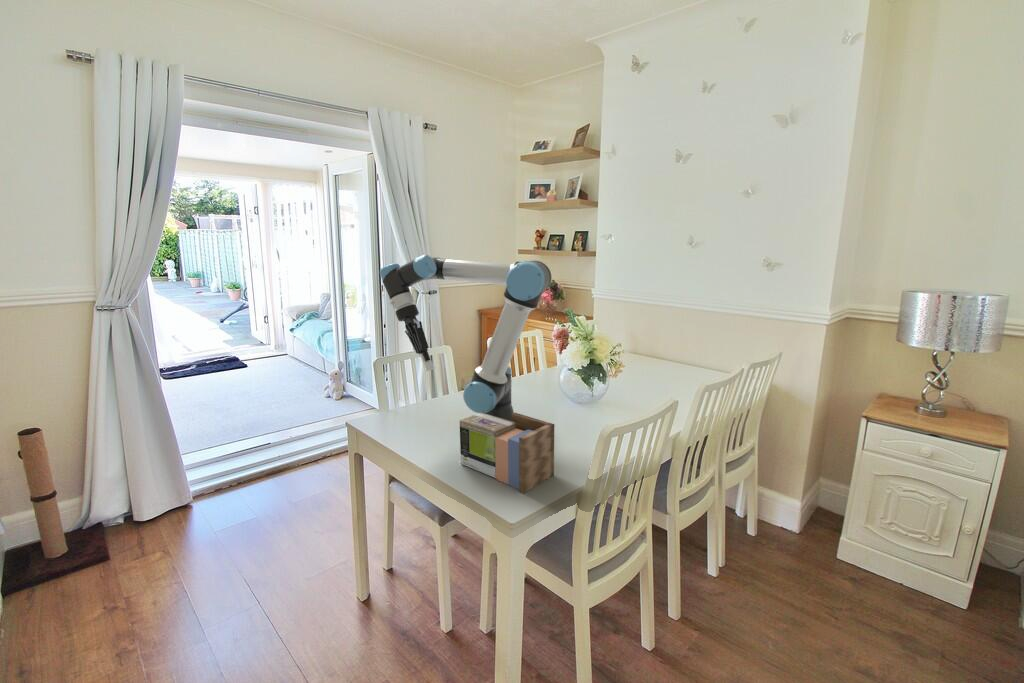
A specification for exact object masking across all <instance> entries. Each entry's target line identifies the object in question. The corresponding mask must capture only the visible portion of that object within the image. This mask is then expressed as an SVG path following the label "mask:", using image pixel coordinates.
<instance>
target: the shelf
mask: <svg viewBox="0 0 1024 683" xmlns="http://www.w3.org/2000/svg"><path fill="white" fill-rule="evenodd" d="M512 422H515V423H516V429H520V430H523V431H525V430H528V429H529V430H532V432H530V433H528V434H526V435H524V436H521V437H519V489H518V491H520V492H519V493H521V492H522V493H521V494H523V493H524V494H525V492H526V493H527V492H529V491H531V490H532V489H534V488H535V487H537V486H539V485H541V482H542V483H543V482H545V481H546V479H547V480H549V479H550V478H552V477H553V476H554V475H555V423H552V422H548V421H545V420H542V419H538V418H534V417H531V416H528V415H525V414H521V413H518V412H514V413H513V414H512ZM551 476H552V477H551ZM538 484H539V485H538ZM536 485H537V486H536ZM533 487H534V488H533ZM530 489H531V490H530Z"/></svg>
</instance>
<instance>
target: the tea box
mask: <svg viewBox="0 0 1024 683" xmlns="http://www.w3.org/2000/svg"><path fill="white" fill-rule="evenodd" d="M515 428H516V423H515V422H512V421H508V420H505V419H501V418H498V417H495V416H491V415H488V414H484V413H475V414H474V415H471V416H468V417H465V418H463V419H460V420H459V446H460V448H459V449H460V451H459V452H460V465H463V466H465V467H468V468H471V469H472V470H475V471H477V472H479V473H483V474H484V475H487V476H489V477H492V478H495V479H496V455H495V437H497V436H499V435H502V434H504V433H506V432H508V431H510V430H512V429H515Z"/></svg>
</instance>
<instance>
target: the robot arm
mask: <svg viewBox="0 0 1024 683" xmlns="http://www.w3.org/2000/svg"><path fill="white" fill-rule="evenodd" d="M379 276H380V278H381V282H382V284H383V285H384V288H385V291H386V292H387V296H388V297H389V301H390V302H389V304H390V305H392V307H393V310H394V311H395V315H396V318H397V320H398V322H404V325H405V326H404V327H405V328H404V329H405V331H404V333H405V334H406V336H407V337H408V339H409V341H410V343H411V345H412V347H413V350H414V351H415V353H416V354H418V356H419V357H420V360H421V362H422V365H423V366H424V368H425V372H429V371H432V370H435V366H434V363H433V361H432V359H431V356H430V354H429V351H428V349H429V344H428V340H427V338H426V335H425V332H424V328H423V323H422V321H421V320H420V321H419V320H418V319H417V316H419V313H420V312H419V309H418V307H417V305H416V304H415V302H416V301H415V299H414V297H413V294H412V292H411V290H410V288H409V287H412V286H414V285H416V284H418V283H420V282H423V281H429V280H442V281H443V280H445V281H458V282H468V283H479V284H490V285H498V286H499V285H502V286H506V287H505V289H504V292H503V298H504V301H505V304H504V306H503V308H502V311H501V312H500V316H499V318H498V322H497V323H496V326H495V329H494V332H493V333H492V336H491V340H490V342H489V345H488V347H487V350H486V353H485V355H484V358H483V361H482V364H480V365H479V366H476V367H475V369H474V372H473V375H472V377H471V379H470V382H469V383H468V384H467V385H465V387H464V390H463V392H462V399H463V401H464V403H465V406H466V407H467V408H468V409H469V410H470V411H472V412H474V413H475V414H478V413H484V414H488V415H491V416H495V417H498V418H501V419H505V420H508V421H512V414H513V413H515V412H514V408H513V405H512V375H513V374H512V369H511V366H509V365H510V362H511V360H512V358H513V355H514V352H515V349H516V348H517V346H518V343H519V340H520V337H521V335H522V332H523V329H524V328H525V325H526V322H527V320H528V317H529V315H530V313H531V312H532V311H534V310H536V309H537V308H538V305H539V303H540V300H541V298H542V297H543V296H542V295H543V293H545V292H546V291H548V289H549V287H550V285H551V283H552V277H553V276H552V273H551V270H550V268H549V266H548V265H547V264H546V263H544V262H543V261H540V260H525V261H524V260H523V261H517V260H516V261H514V262H513V263H503V262H491V261H490V262H489V261H479V260H478V261H477V260H464V259H450V258H441V257H431V256H430V255H428V254H423V255H421V256H417V257H416V258H414V259H412V260H410V261H408V262H407V263H405V264H403V265H401V266H400V264H399V263H397V262H395V263H391V264H387V265H385V266H383V267H382V268H381V269H380V270H379Z"/></svg>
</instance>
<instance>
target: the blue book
mask: <svg viewBox="0 0 1024 683" xmlns="http://www.w3.org/2000/svg"><path fill="white" fill-rule="evenodd" d="M530 432H532V430H529V429H528V430H525V431H523V432H521V433H519V434H517V435H515V436H513V437H511V438H509V439H508V484H507V485H509V486H510V485H511V486H510V487H512V486H513V487H512V488H515V487H516V488H515V489H517V488H518V489H517V490H519V437H521V436H524V435H526V434H528V433H530Z"/></svg>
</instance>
